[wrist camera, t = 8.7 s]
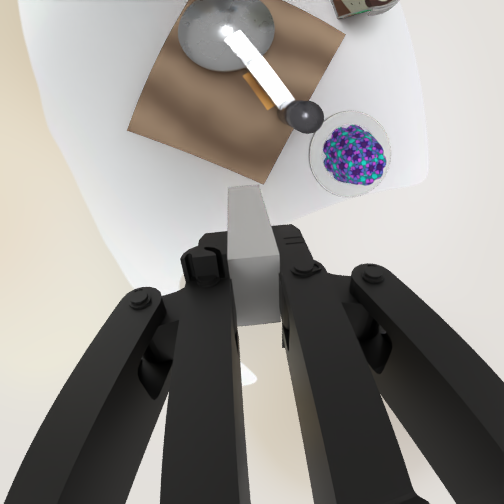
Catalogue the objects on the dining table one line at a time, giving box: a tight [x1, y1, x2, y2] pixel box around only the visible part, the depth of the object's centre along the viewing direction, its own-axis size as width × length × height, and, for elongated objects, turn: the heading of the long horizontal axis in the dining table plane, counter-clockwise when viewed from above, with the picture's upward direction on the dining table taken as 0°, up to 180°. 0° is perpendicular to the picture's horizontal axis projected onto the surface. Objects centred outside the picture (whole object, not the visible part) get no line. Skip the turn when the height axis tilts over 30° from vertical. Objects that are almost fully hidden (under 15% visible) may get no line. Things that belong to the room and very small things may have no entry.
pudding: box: [310, 111, 391, 197], centre depth 33 cm, size 12×12×5 cm
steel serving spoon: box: [178, 0, 324, 134], centre depth 23 cm, size 18×10×8 cm, turn 36°
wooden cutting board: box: [127, 0, 346, 185], centre depth 28 cm, size 22×18×2 cm
